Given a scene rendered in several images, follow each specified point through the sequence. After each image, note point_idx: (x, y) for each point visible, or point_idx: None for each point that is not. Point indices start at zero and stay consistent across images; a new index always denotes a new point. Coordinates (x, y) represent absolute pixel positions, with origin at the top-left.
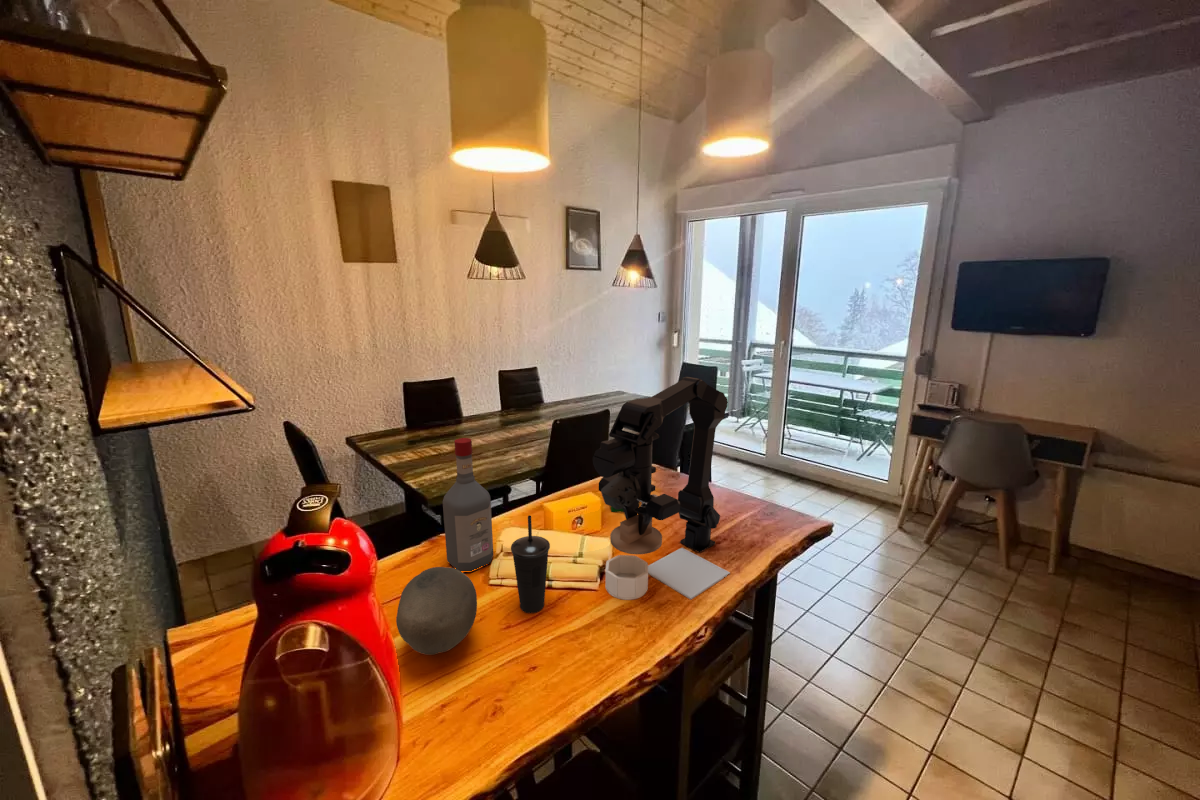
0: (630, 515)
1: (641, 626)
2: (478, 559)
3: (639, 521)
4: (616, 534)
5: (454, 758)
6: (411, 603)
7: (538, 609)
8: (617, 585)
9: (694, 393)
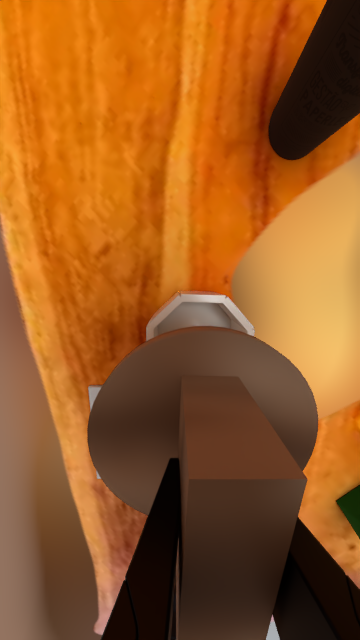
0: (299, 601)
1: (90, 266)
2: None
3: (150, 604)
4: (279, 392)
5: None
6: None
7: (272, 119)
8: (180, 294)
9: None
